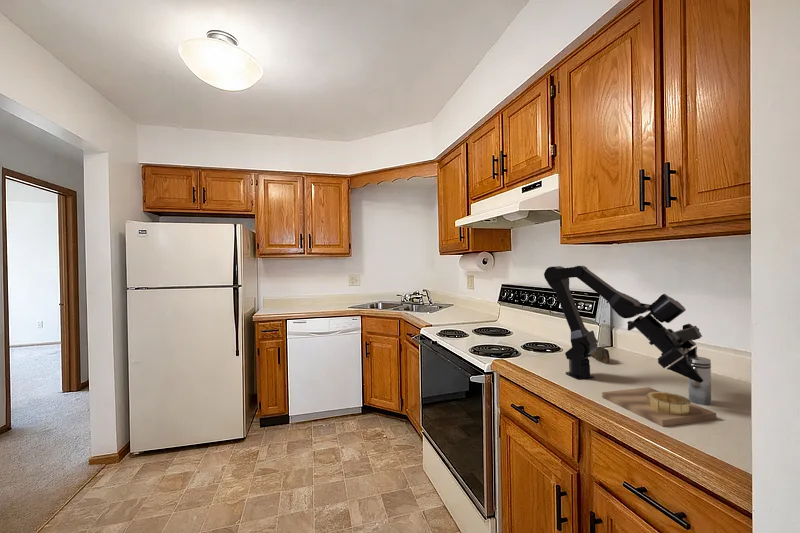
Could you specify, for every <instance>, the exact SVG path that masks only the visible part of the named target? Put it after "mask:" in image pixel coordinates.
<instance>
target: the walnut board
mask: <svg viewBox="0 0 800 533" xmlns="http://www.w3.org/2000/svg"><path fill="white" fill-rule="evenodd" d="M650 392H661V391H659V390H657V389H655V388H652V387H647V386H646V387H637V388H630V389H629V388H627V389H620V390H612V391H611V390H609V391H602V392H601V398H603V399H605V400H607V401H609V402H610V403H613V404H615V405H617V406H619V407H621V408H624V409H625V410H627V411H630V412H632V413H634V414H636V415H638V416H639V417H642V418H645V419H646V420H648V421H650V422H653V423H655V424H657V425H658V426H661V427H669V426H675V425H682V424H690V423H697V422H703V421H705V422H706V421H711V420H717V412H715V411H713V410H710V409H707V408H705V407H702V406H699V405H698V404H695V403H691V412H690V414H686V415H674V414H667V413H663V412H659V411H657V410H654V409H652V408H650V407H649V406H648V405H647V394H648V393H650Z"/></svg>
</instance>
